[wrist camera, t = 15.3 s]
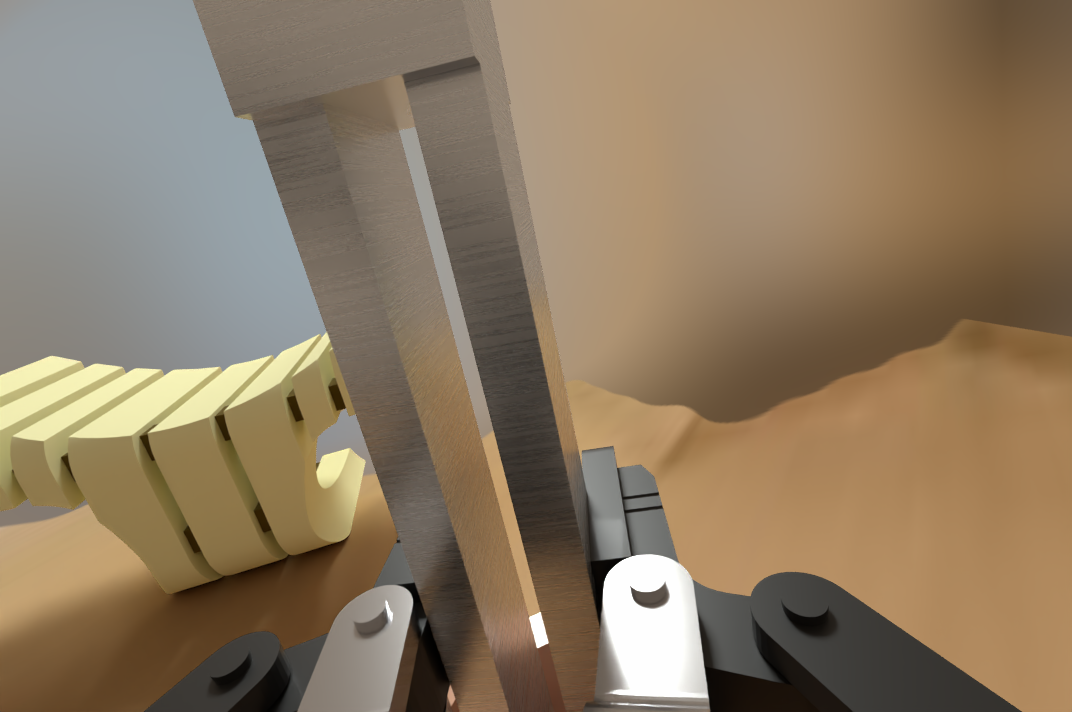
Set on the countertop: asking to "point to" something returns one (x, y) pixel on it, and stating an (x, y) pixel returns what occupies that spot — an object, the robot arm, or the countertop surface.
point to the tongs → (430, 312)
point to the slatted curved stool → (186, 457)
